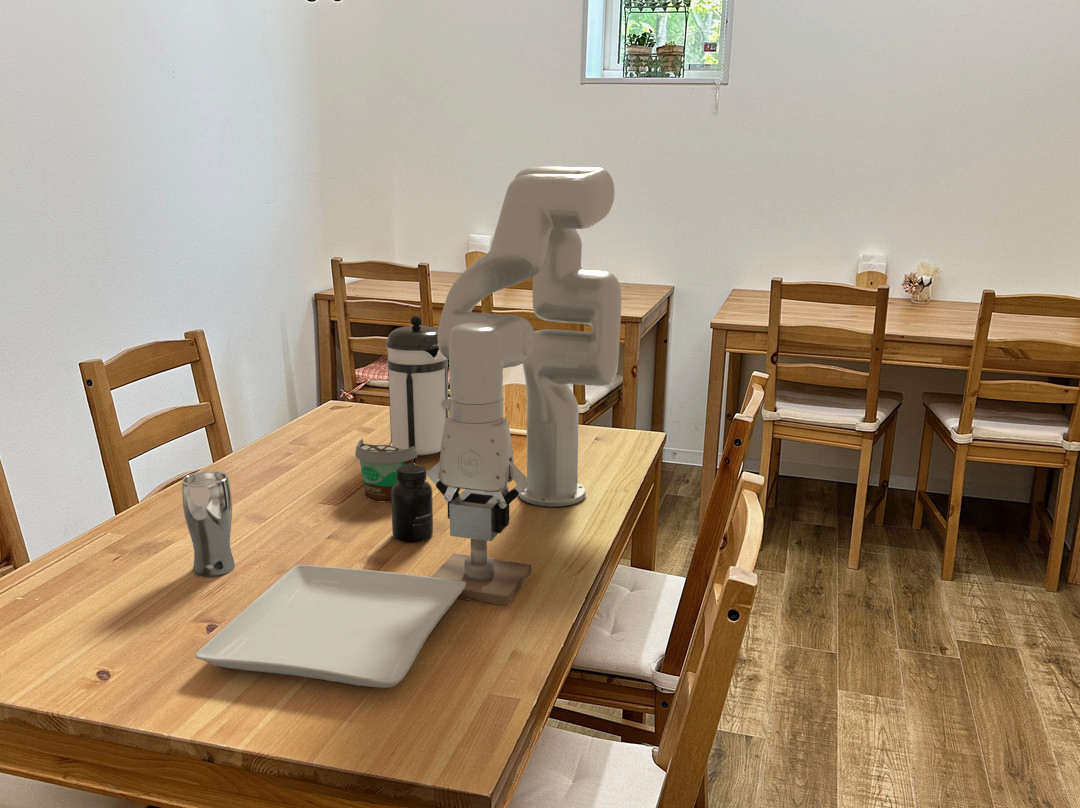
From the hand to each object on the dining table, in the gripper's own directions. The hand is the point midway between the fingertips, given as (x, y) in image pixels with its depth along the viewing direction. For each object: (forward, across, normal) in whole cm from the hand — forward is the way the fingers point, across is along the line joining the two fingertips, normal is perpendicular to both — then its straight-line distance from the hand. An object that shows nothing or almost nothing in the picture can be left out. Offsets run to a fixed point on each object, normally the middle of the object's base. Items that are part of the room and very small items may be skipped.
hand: (478, 525), depth 135 cm
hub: (+1, 0, 0) cm, 1 cm away
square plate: (+10, -12, -20) cm, 25 cm away
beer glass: (+9, -41, -8) cm, 43 cm away
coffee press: (+9, -35, +53) cm, 64 cm away
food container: (+10, -30, +27) cm, 41 cm away
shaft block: (+9, 0, 0) cm, 9 cm away
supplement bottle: (+9, -17, +13) cm, 23 cm away
